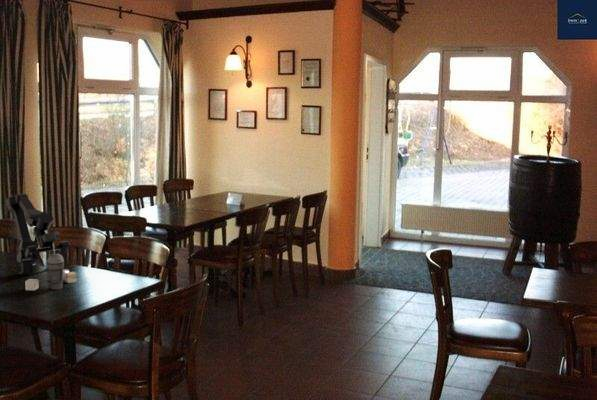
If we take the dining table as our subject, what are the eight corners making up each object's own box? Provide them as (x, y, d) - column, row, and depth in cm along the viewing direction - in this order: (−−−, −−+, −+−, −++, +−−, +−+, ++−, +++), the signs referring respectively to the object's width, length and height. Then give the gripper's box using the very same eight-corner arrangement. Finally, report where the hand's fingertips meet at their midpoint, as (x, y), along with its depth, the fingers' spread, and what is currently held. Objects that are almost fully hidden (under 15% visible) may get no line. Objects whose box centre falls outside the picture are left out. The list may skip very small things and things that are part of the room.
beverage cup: (54, 291, 280) (51, 246, 277) (44, 288, 285) (42, 243, 282) (68, 287, 286) (66, 243, 283) (59, 284, 290) (57, 241, 288)
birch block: (64, 281, 296) (64, 273, 295) (73, 280, 299) (72, 271, 298) (68, 283, 293) (68, 274, 292) (76, 281, 296) (76, 273, 295)
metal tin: (53, 280, 298) (52, 271, 297) (61, 277, 304) (61, 268, 303) (64, 281, 296) (63, 273, 295) (72, 278, 302) (72, 270, 301)
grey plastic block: (25, 290, 282) (25, 281, 281) (29, 287, 286) (29, 279, 285) (34, 290, 281) (34, 281, 281) (38, 288, 285) (38, 279, 285)
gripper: (25, 228, 281) (36, 257, 274) (67, 223, 293) (79, 251, 287) (20, 243, 287) (30, 272, 281) (61, 237, 300) (72, 265, 293)
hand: (53, 264), depth 285 cm, fingers open, 9 cm apart
